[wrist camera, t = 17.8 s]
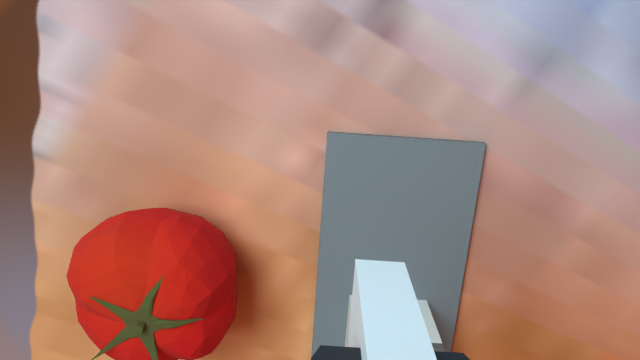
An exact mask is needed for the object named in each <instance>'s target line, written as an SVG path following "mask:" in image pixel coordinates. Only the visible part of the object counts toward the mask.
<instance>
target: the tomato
mask: <svg viewBox="0 0 640 360" xmlns="http://www.w3.org/2000/svg"><path fill="white" fill-rule="evenodd" d="M67 279H68V283H69V286H70V288H71V290H72V292H73V295H74V297H75V300H76V311H77V317H78V321H79V323H80V324H81V326H82V328H83V329H84V331H85V332H86V334H87V335H88V337H89V338H90V339H91V340H92V341H93V342H94V344H95V345H96V346H97V347H98V348H99V349H100V350H101V351H100V352H99V353H98V354H97V355H96V356H95V357H94V358H93V359H95V358H96V357H98V356H100V355H101V354H103V353H105V354H107V355H108V356H110V357H111V358H113V359H115V360H177V359H179V358H180V359H185V360H193V359H197V358H201V357H203V356H205V355H208V354H210V353H212V351H213V350H214V349H215V348H216V347H217V346H218V345H219V343H220V342H221V340H222V338H223V337H224V335H225V334H226V332H227V331H228V329H229V327H230V326H231V324H232V322H233V320H234V318H235V312H236V304H237V287H236V264H235V252H234V250H233V249H232V247H231V245H230V244H229V242H228V240H227V239H226V237H225V235H224V234H223V232H222V231H220V230H219V229H217V228H216V227H215V226H213V225H212V224H211V223H209V222H208V221H206V220H205V219H203V218H202V217H199V216H195V215H191V214H187V213H183V212H180V211H176V210H172V209H168V208H151V209H141V210H135V211H128V212H124V213H121V214H119V215H116V216H113V217H110V218H108V219H106V220H105V221H103V222H102V223H100V224H99V225H98V226H96V227H95V228H94V229H92V230H91V231H90V232H88V233H87V234H86V235H85V236H83V237H82V238H81V239H80V241H79V242H78V243H77V245H76V246H75V247H74V250H73V254H72V258H71V261H70V265H69V269H68V273H67ZM93 359H92V360H93Z"/></svg>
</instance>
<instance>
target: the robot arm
mask: <svg viewBox="0 0 640 360" xmlns="http://www.w3.org/2000/svg"><path fill="white" fill-rule="evenodd" d="M348 341H349V347H341V346H326V345H320V346H319V348H318V349H317V351H316V352H315V353H314V355H313V356H312V358H311V360H469V359H468V358H467V357H466V356H465V355H464V354H463V353H454V352H439V351H434V349H433V346H432V343H431V340H430V337H429V334H428V331H427V328H426V325H425V322H424V319H423V316H422V313H421V310H420V307H419V304H418V301H417V298H416V295H415V292H414V289H413V286H412V283H411V280H410V277H409V274H408V271H407V268H406V265H405V262H391V261H376V260H361V259H355V269H354V280H353V291H352V301H351V312H350V322H349V333H348Z"/></svg>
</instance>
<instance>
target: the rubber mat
mask: <svg viewBox="0 0 640 360" xmlns="http://www.w3.org/2000/svg"><path fill="white" fill-rule="evenodd" d="M485 147H486V143H484V142H474V141H460V140H445V139H430V138H416V137H401V136H387V135H372V134H357V133H343V132H328V133H327V147H326V161H325V175H324V189H323V203H322V217H321V231H320V245H319V259H318V273H317V287H316V301H315V315H314V329H313V343H312V356H313V355H314V353H315V352H316V351H317V349H318V348H319V346H320V345H326V346H341V347H345V338H346V327H347V317H348V306H349V296H350V295H352V291H353V280H354V269H355V259H361V260H376V261H391V262H405V265H406V268H407V271H408V274H409V277H410V280H411V283H412V286H413V289H414V292H415V295H416V298H417V300H427V303H428V306H429V308H430V311H431V314H432V316H433V319H434V322H435V325H436V327H437V330H438V333H439V335H440V338H441V341H442V344H443V346H444V352H451V348H452V342H453V336H454V330H455V324H456V318H457V313H458V307H459V301H460V295H461V289H462V283H463V277H464V271H465V265H466V259H467V253H468V247H469V241H470V236H471V230H472V224H473V218H474V212H475V206H476V200H477V194H478V188H479V182H480V176H481V170H482V164H483V159H484V153H485ZM311 358H312V357H311Z"/></svg>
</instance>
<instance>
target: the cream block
mask: <svg viewBox="0 0 640 360" xmlns="http://www.w3.org/2000/svg"><path fill="white" fill-rule="evenodd" d="M351 301H352V295H350V296H349V306H348V317H347V327H346V338H345V347H349V341H348V333H349V322H350V312H351ZM417 301H418V304H419V307H420V310H421V313H422V316H423V319H424V322H425V325H426V328H427V331H428V334H429V337H430V340H431V343H432V346H433V349H434V351H439V352H444V346H443V344H442V341H441V338H440V335H439V333H438V330H437V327H436V325H435V322H434V319H433V316H432V314H431V311H430V308H429V306H428V303H427V300H417Z"/></svg>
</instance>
